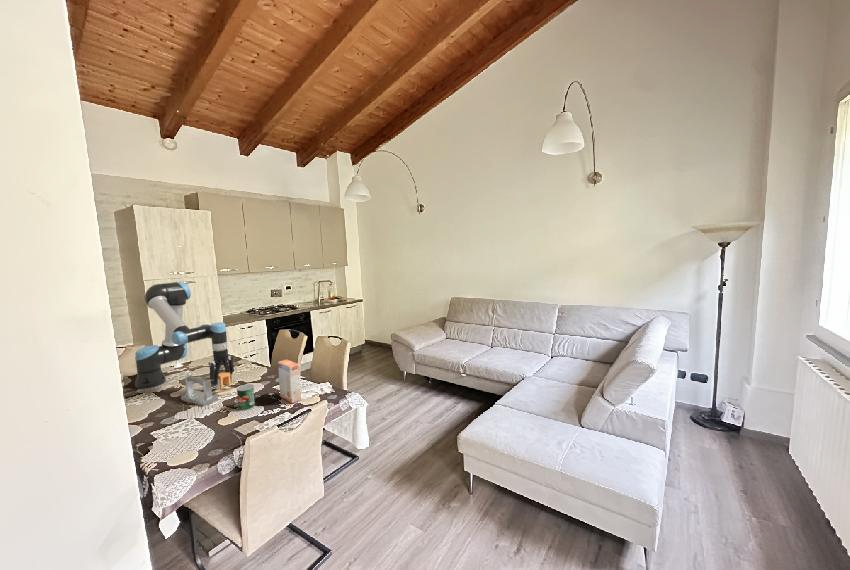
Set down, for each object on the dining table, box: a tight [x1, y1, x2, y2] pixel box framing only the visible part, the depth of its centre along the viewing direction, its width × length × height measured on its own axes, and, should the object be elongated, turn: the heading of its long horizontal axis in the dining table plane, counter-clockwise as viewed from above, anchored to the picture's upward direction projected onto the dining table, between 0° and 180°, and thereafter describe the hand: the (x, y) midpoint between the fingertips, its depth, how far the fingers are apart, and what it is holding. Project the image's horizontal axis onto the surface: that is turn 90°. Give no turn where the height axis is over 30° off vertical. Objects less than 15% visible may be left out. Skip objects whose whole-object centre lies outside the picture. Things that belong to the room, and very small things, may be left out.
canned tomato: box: [236, 384, 256, 411], centre depth 183 cm, size 8×8×11 cm
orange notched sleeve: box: [218, 372, 232, 389], centre depth 203 cm, size 5×6×8 cm
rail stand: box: [180, 375, 219, 407], centre depth 192 cm, size 20×8×12 cm, turn 65°
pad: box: [212, 385, 237, 397], centre depth 204 cm, size 10×10×1 cm
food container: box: [219, 365, 233, 386], centre depth 216 cm, size 12×6×10 cm, turn 84°
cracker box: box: [277, 359, 302, 404], centre depth 192 cm, size 14×6×21 cm, turn 48°
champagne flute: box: [171, 360, 184, 369], centre depth 246 cm, size 7×7×24 cm
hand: (223, 387), depth 203 cm, fingers closed on orange notched sleeve, 6 cm apart
